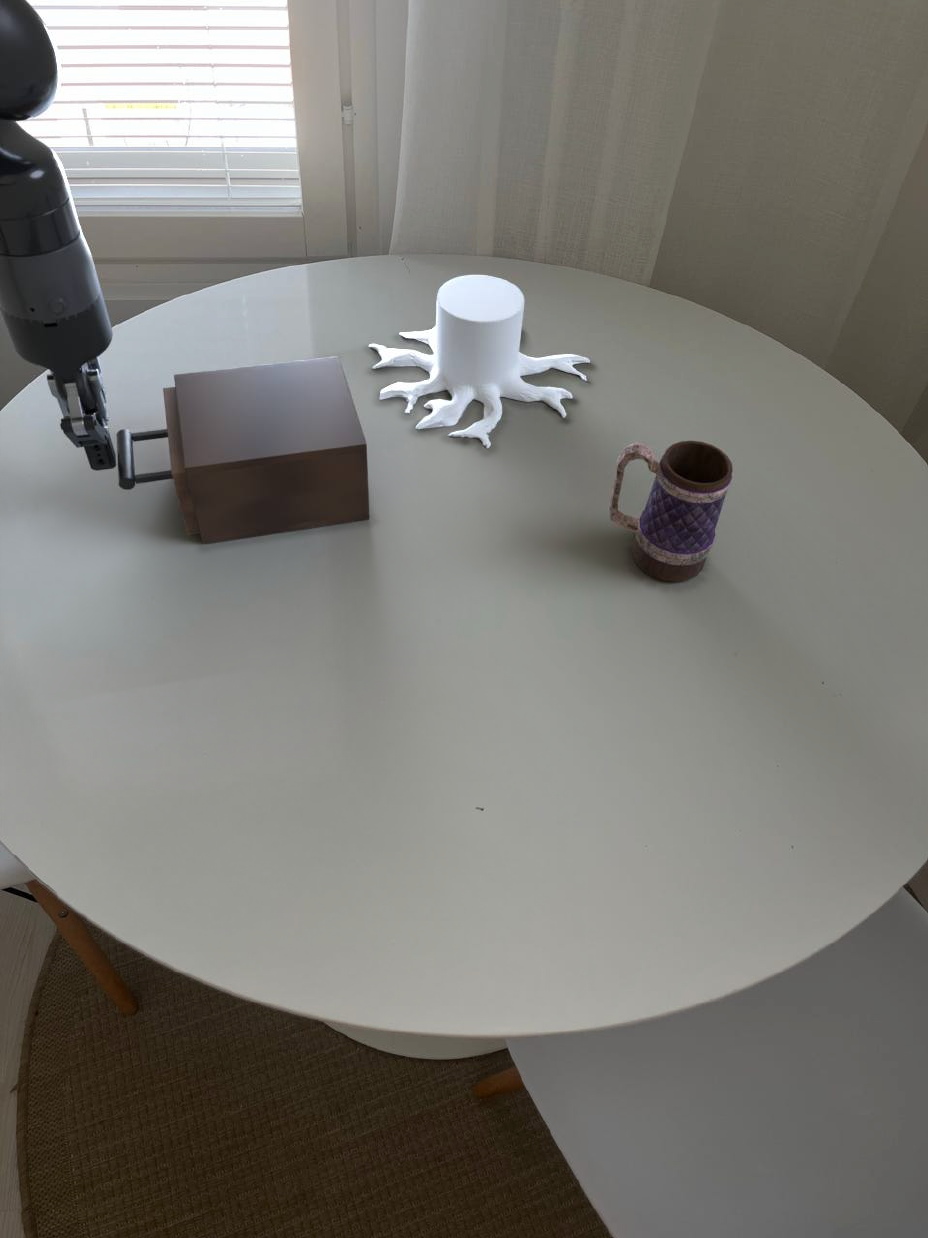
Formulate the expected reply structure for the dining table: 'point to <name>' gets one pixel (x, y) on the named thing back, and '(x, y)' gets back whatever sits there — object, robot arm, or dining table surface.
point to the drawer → (176, 458)
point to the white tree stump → (475, 356)
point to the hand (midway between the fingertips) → (104, 464)
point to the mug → (675, 507)
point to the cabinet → (272, 448)
